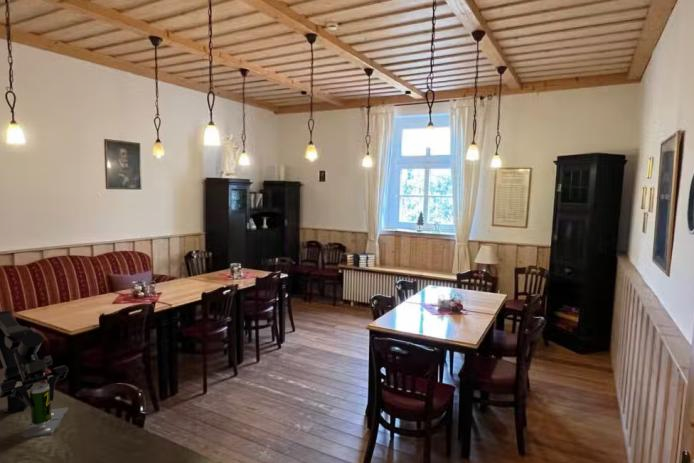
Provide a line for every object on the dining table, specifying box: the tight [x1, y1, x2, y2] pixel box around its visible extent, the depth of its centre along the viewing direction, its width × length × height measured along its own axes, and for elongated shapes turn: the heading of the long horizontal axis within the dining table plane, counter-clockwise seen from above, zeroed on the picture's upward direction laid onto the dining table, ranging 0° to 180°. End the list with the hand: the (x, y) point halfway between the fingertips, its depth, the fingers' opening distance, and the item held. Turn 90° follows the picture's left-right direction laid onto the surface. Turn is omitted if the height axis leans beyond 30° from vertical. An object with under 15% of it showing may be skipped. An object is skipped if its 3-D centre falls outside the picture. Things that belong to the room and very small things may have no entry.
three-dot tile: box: [22, 419, 62, 439], centre depth 140 cm, size 8×8×1 cm
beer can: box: [29, 382, 52, 426], centre depth 139 cm, size 5×5×12 cm
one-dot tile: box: [51, 407, 69, 420], centre depth 148 cm, size 8×8×1 cm
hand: (42, 403), depth 138 cm, fingers closed on beer can, 5 cm apart
